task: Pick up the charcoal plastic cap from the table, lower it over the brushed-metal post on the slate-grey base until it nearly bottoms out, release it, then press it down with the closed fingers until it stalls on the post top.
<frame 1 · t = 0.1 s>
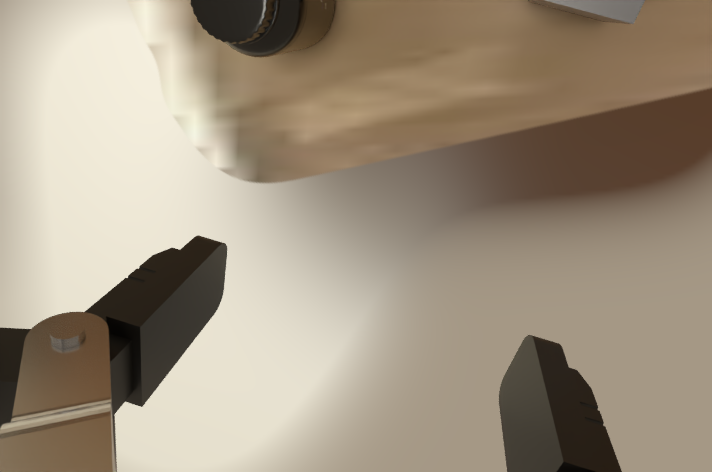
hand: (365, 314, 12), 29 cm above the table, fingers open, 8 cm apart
supplement bottle: (295, 2, 36), on the table
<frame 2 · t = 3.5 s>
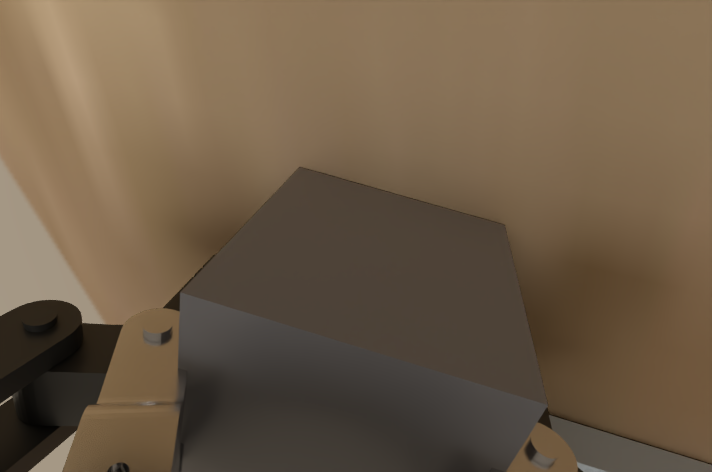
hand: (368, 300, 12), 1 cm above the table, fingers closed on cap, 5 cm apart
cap: (375, 280, 13), on the table, touching gripper
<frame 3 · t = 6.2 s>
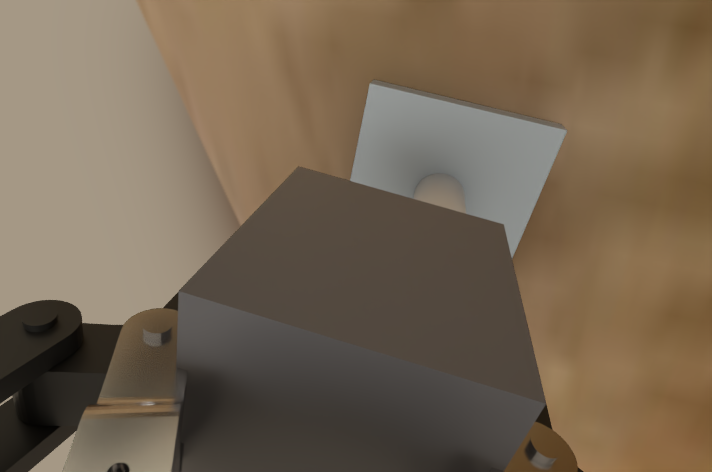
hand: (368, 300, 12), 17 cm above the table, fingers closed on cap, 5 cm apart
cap: (374, 280, 13), point 16 cm above the table, touching gripper
post base: (439, 188, 28), on the table
when the fingers open (4 cm above the table, at t = 9.2 s): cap stays where it is, resting on post base.
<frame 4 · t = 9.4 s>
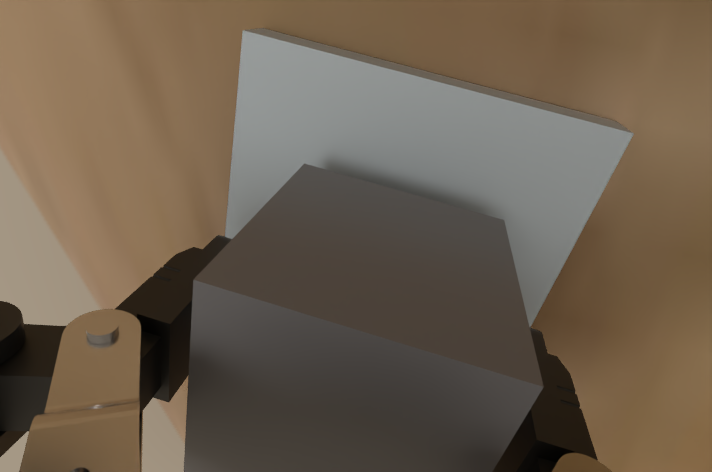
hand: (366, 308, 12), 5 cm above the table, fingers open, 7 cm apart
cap: (378, 274, 13), point 3 cm above the table, touching post base
post base: (389, 229, 16), on the table
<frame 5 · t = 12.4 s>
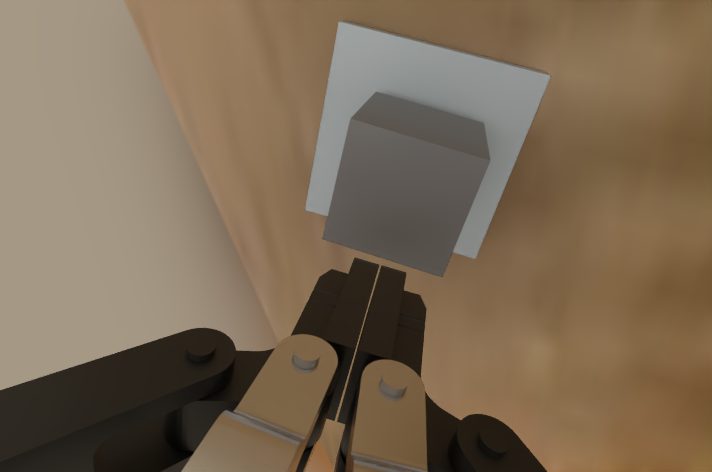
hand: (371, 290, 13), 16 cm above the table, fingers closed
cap: (413, 158, 24), point 3 cm above the table, touching post base
post base: (415, 143, 27), on the table
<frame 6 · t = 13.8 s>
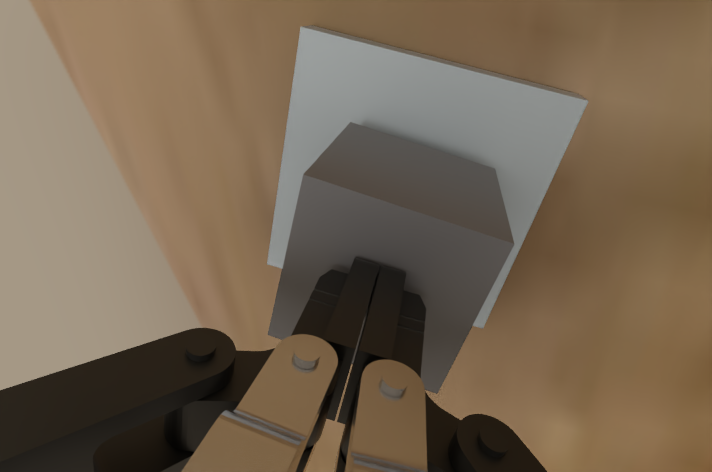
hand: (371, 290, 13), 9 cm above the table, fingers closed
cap: (399, 210, 18), point 3 cm above the table, touching gripper, post base
post base: (405, 183, 21), on the table
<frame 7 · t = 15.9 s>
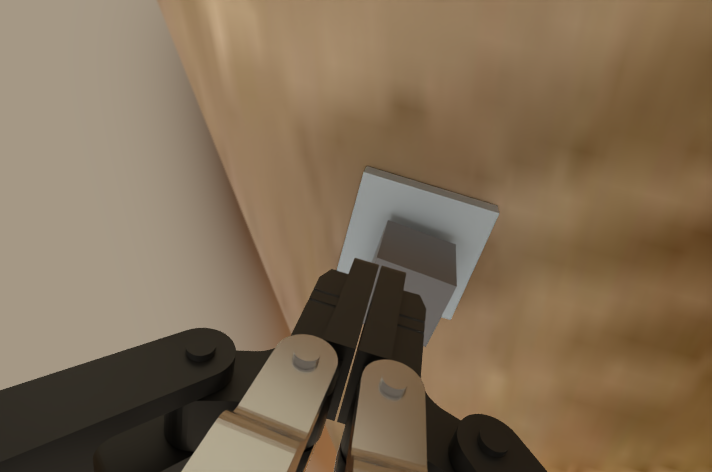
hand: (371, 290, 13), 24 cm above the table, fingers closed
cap: (409, 260, 36), point 3 cm above the table, touching post base
post base: (411, 242, 39), on the table
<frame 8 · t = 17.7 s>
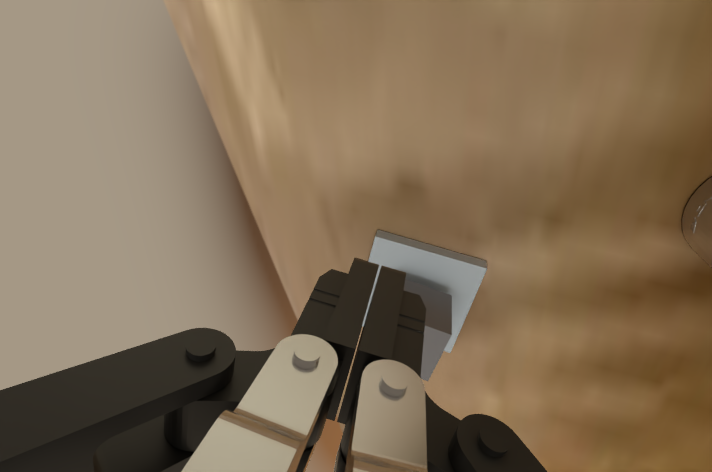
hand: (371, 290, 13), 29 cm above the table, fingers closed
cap: (413, 307, 44), point 3 cm above the table, touching post base
post base: (415, 289, 47), on the table
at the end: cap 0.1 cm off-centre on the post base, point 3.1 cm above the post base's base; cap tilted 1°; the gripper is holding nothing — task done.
